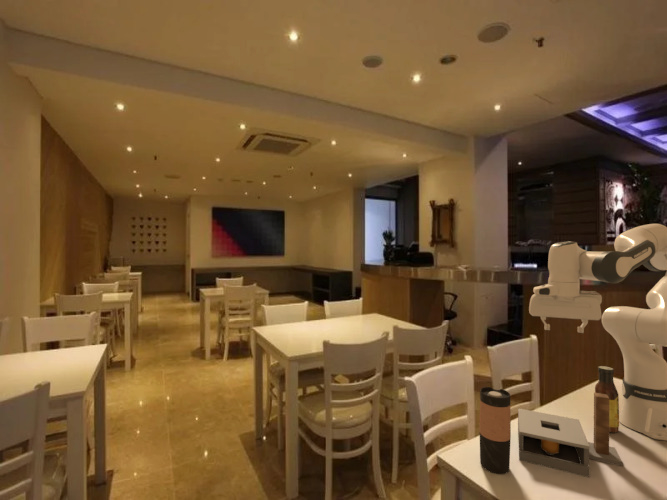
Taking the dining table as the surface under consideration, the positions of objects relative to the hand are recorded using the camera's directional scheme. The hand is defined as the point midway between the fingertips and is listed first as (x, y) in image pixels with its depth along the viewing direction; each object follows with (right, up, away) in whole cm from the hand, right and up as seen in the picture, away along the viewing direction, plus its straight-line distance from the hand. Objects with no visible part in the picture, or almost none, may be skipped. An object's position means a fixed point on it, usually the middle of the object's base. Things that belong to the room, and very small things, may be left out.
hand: (563, 331), depth 117 cm
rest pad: (-1, -31, -17) cm, 36 cm away
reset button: (-15, -30, -17) cm, 37 cm away
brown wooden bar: (-1, -30, -17) cm, 35 cm away
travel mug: (-34, -32, -23) cm, 51 cm away
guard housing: (-15, -31, -17) cm, 38 cm away
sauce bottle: (+13, -32, -2) cm, 34 cm away
